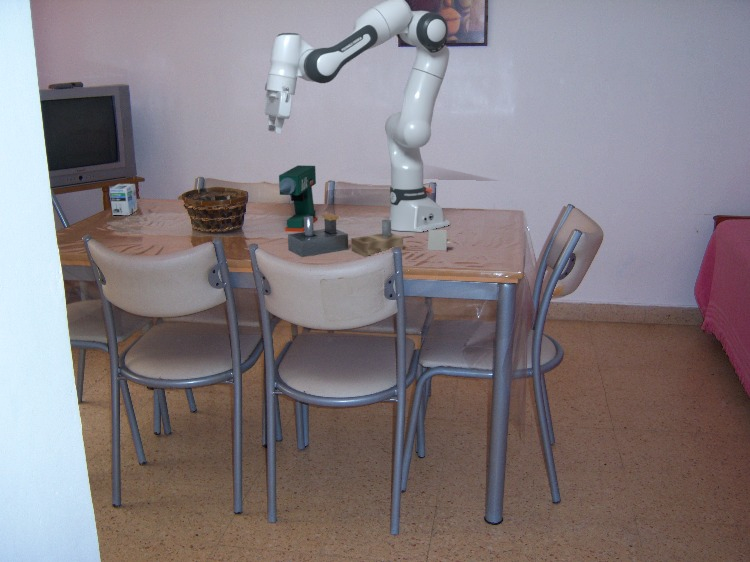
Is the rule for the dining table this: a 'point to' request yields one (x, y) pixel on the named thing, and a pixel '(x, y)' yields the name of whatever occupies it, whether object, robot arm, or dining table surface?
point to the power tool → (299, 194)
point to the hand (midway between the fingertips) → (274, 132)
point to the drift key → (330, 223)
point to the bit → (308, 226)
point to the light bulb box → (123, 199)
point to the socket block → (317, 243)
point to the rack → (376, 241)
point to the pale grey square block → (437, 239)
